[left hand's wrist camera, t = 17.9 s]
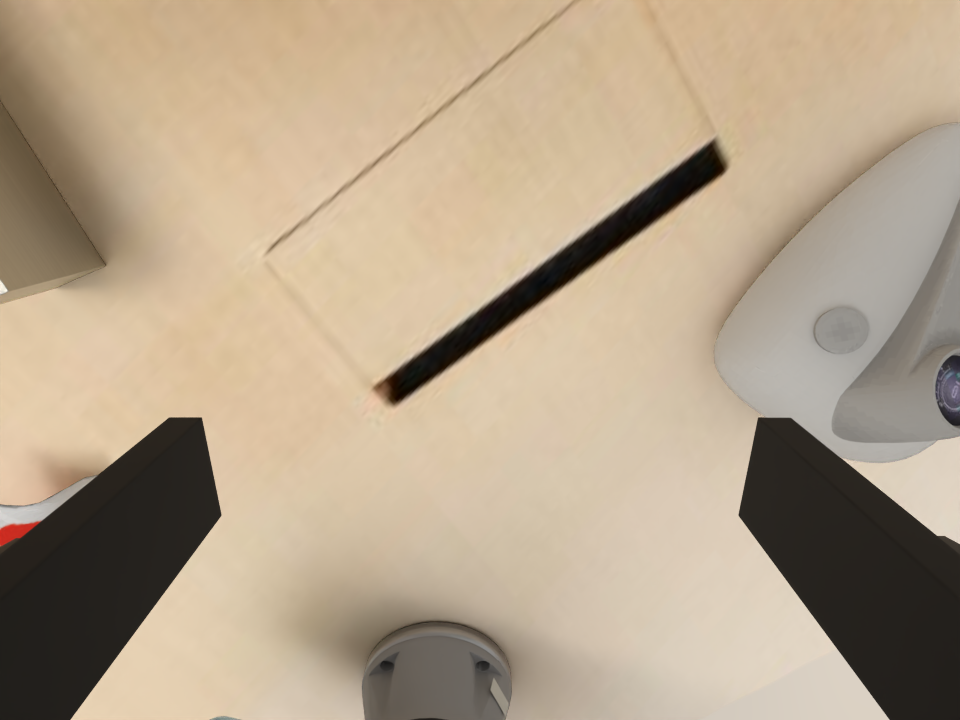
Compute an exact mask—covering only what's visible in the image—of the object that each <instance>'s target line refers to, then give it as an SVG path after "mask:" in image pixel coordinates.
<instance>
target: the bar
mask: <svg viewBox="0 0 960 720" xmlns="http://www.w3.org/2000/svg"><path fill="white" fill-rule="evenodd" d="M105 266H106V265H105V264H104V262H103V261H102V259H101V257H100V256H99V254H98V253H97V251H96V250H95V248H94V246H93V245H92V243H91V242H90V240H89V239H88V237H87V236H86V234H85V232H84V231H83V229H82V228H81V226H80V225H79V223H78V222H77V220H76V218H75V217H74V215H73V214H72V212H71V211H70V209H69V207H68V206H67V204H66V203H65V201H64V200H63V198H62V197H61V195H60V193H59V192H58V190H57V189H56V187H55V186H54V184H53V182H52V181H51V179H50V178H49V176H48V175H47V173H46V172H45V170H44V168H43V167H42V165H41V164H40V162H39V161H38V159H37V157H36V156H35V154H34V153H33V151H32V150H31V148H30V147H29V145H28V143H27V142H26V140H25V139H24V137H23V136H22V134H21V133H20V131H19V129H18V128H17V126H16V125H15V123H14V122H13V120H12V118H11V117H10V115H9V114H8V112H7V111H6V109H5V108H4V106H3V104H2V103H1V101H0V304H2V303H6V302H9V301H13V300H16V299H20V298H23V297H27V296H30V295H34V294H37V293H41V292H44V291H48V290H51V289H55V288H57V287H59V286H62V285H64V284H66V283H68V282H71V281H73V280H75V279H77V278H80V277H82V276H84V275H87V274H89V273H91V272H93V271H96V270H98V269H100V268H102V267H105Z"/></svg>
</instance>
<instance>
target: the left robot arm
mask: <svg viewBox="0 0 960 720" xmlns="http://www.w3.org/2000/svg"><path fill="white" fill-rule="evenodd" d="M220 517H221V510H220V505H219V500H218V496H217V491H216V486H215V481H214V476H213V471H212V466H211V461H210V456H209V451H208V446H207V441H206V436H205V431H204V426H203V421H202V418H168V419H167V420H166V421H164V422H163V423H162V424H161V425H159V426H158V427H157V428H156V429H155V430H153V431H152V432H151V433H150V434H148V435H147V436H146V437H145V438H143V439H142V440H141V441H140V442H138V443H137V444H136V445H135V446H134V447H132V448H131V449H130V450H129V451H127V452H126V453H125V454H124V455H122V456H121V457H120V458H119V459H117V460H116V461H115V462H114V463H113V464H111V465H110V466H109V467H108V468H106V469H105V470H104V471H103V472H101V473H100V474H99V475H98V476H96V477H95V478H94V479H93V480H91V481H90V482H89V483H88V484H87V485H85V486H84V487H83V488H82V489H80V490H79V491H78V492H77V493H75V494H74V495H73V496H72V497H70V498H69V499H68V500H67V501H66V502H64V503H63V504H62V505H61V506H59V507H58V508H57V509H56V510H54V511H53V512H52V513H51V514H49V515H48V516H47V517H46V518H45V519H43V520H42V521H41V522H40V523H38V524H37V525H36V526H35V527H33V528H32V529H31V530H30V531H28V532H27V533H26V534H25V535H24V536H22V537H21V538H15V539H13V540H12V541H10V542H8V543H6V544H4V545H2V546H0V720H70V719H71V718H72V717H73V715H74V714H75V713H76V711H77V710H78V709H79V707H80V706H81V705H82V703H83V702H84V700H85V699H86V698H87V696H88V695H89V694H90V692H91V691H92V690H93V688H94V687H95V686H96V684H97V683H98V682H99V680H100V679H101V678H102V676H103V675H104V673H105V672H106V671H107V669H108V668H109V667H110V665H111V664H112V663H113V661H114V660H115V659H116V657H117V656H118V655H119V653H120V652H121V651H122V649H123V648H124V646H125V645H126V644H127V642H128V641H129V640H130V638H131V637H132V636H133V634H134V633H135V632H136V630H137V629H138V628H139V626H140V625H141V623H142V622H143V621H144V619H145V618H146V617H147V615H148V614H149V613H150V611H151V610H152V609H153V607H154V606H155V605H156V603H157V602H158V601H159V599H160V598H161V596H162V595H163V594H164V592H165V591H166V590H167V588H168V587H169V586H170V584H171V583H172V582H173V580H174V579H175V578H176V576H177V575H178V574H179V572H180V571H181V569H182V568H183V567H184V565H185V564H186V563H187V561H188V560H189V559H190V557H191V556H192V555H193V553H194V552H195V551H196V549H197V548H198V546H199V545H200V544H201V542H202V541H203V540H204V538H205V537H206V536H207V534H208V533H209V532H210V530H211V529H212V528H213V526H214V525H215V524H216V522H217V521H218V519H219V518H220ZM739 517H740V518H741V519H742V521H743V522H744V524H745V525H746V526H747V528H748V529H749V530H750V532H751V533H752V534H753V536H754V537H755V538H756V540H757V541H758V542H759V544H760V545H761V546H762V548H763V549H764V551H765V552H766V553H767V555H768V556H769V557H770V559H771V560H772V561H773V563H774V564H775V565H776V567H777V568H778V569H779V571H780V572H781V574H782V575H783V576H784V578H785V579H786V580H787V582H788V583H789V584H790V586H791V587H792V588H793V590H794V591H795V592H796V594H797V595H798V596H799V598H800V599H801V601H802V602H803V603H804V605H805V606H806V607H807V609H808V610H809V611H810V613H811V614H812V615H813V617H814V618H815V619H816V621H817V622H818V623H819V625H820V626H821V628H822V629H823V630H824V632H825V633H826V634H827V636H828V637H829V638H830V640H831V641H832V642H833V644H834V645H835V646H836V648H837V649H838V651H839V652H840V653H841V655H842V656H843V657H844V659H845V660H846V661H847V663H848V664H849V665H850V667H851V668H852V669H853V671H854V672H855V673H856V675H857V676H858V678H859V679H860V680H861V682H862V683H863V684H864V686H865V687H866V688H867V690H868V691H869V692H870V694H871V695H872V696H873V698H874V699H875V700H876V702H877V703H878V705H879V706H880V707H881V709H882V710H883V711H884V713H885V714H886V715H887V717H888V718H889V719H890V720H960V544H958V543H956V542H955V541H953V540H951V539H949V538H947V537H945V536H936V535H935V534H934V533H933V532H932V531H930V530H929V529H928V528H927V527H925V526H924V525H923V524H922V523H920V522H919V521H918V520H917V519H915V518H914V517H913V516H912V515H911V514H909V513H908V512H907V511H906V510H904V509H903V508H902V507H901V506H899V505H898V504H897V503H896V502H894V501H893V500H892V499H891V498H890V497H888V496H887V495H886V494H885V493H883V492H882V491H881V490H880V489H878V488H877V487H876V486H875V485H873V484H872V483H871V482H870V481H869V480H867V479H866V478H865V477H864V476H862V475H861V474H860V473H859V472H857V471H856V470H855V469H854V468H852V467H851V466H850V465H849V464H847V463H846V462H845V461H844V460H843V459H841V458H840V457H839V456H838V455H836V454H835V453H834V452H833V451H831V450H830V449H829V448H828V447H826V446H825V445H824V444H823V443H822V442H820V441H819V440H818V439H817V438H815V437H814V436H813V435H812V434H810V433H809V432H808V431H807V430H805V429H804V428H803V427H802V426H801V425H799V424H798V423H797V422H796V421H794V420H793V419H792V418H758V421H757V426H756V431H755V436H754V441H753V446H752V451H751V456H750V461H749V466H748V471H747V476H746V481H745V486H744V491H743V496H742V500H741V505H740V510H739ZM511 693H512V691H511V673H510V667H509V664H508V661H507V659H506V657H505V655H504V654H503V652H502V651H501V650H500V648H499V647H498V646H497V645H496V644H495V643H494V642H493V641H491V640H490V639H489V638H488V637H486V636H485V635H483V634H481V633H479V632H477V631H475V630H473V629H471V628H468V627H465V626H461V625H457V624H452V623H444V622H428V623H420V624H415V625H411V626H407V627H405V628H402V629H399V630H397V631H395V632H393V633H392V634H390V635H388V636H387V637H386V638H384V639H383V640H382V641H381V642H380V643H379V644H378V645H377V646H376V647H375V648H374V650H373V651H372V652H371V654H370V656H369V658H368V661H367V664H366V669H365V673H364V677H363V682H362V697H363V706H364V715H365V720H505V719H506V716H507V712H508V709H509V705H510V700H511ZM210 720H240V719H235V718H231V717H225V716H221V717H216V718H213V719H210Z"/></svg>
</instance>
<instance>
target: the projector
mask: <svg viewBox="0 0 960 720" xmlns="http://www.w3.org/2000/svg"><path fill="white" fill-rule="evenodd" d="M714 362H715V366H716V368H717V371H718V373H719V375H720V376H721V378H722V379H723V381H724V382H725V383H726V384H727V386H728V387H729V388H730V389H731V390H732V391H733V392H734V393H735V394H736V395H737V396H738V397H739V398H740V399H741V400H743V401H744V402H745V403H746V404H747V405H749V406H750V407H751V408H753V409H754V410H755V411H757V412H758V413H760V414H761V415H763V416H764V417H766V418H792V419H793V420H794V421H796V422H797V423H798V424H799V425H801V426H802V427H803V428H804V429H805V430H807V431H808V432H809V433H810V434H812V435H813V436H814V437H815V438H817V439H818V440H819V441H820V442H822V443H823V444H824V445H825V446H826V447H828V448H829V449H830V450H831V451H833V452H834V453H835V454H836V455H838V456H839V457H842V458H845V459H849V460H853V461H860V462H869V463H886V462H895V461H899V460H903V459H906V458H909V457H911V456H913V455H916V454H918V453H920V452H921V451H923V450H925V449H926V448H928V447H929V446H931V445H933V444H934V443H935V442H936V441H937V440H942V439H950V438H954V437H959V436H960V123H948V124H943V125H939V126H936V127H933V128H930V129H928V130H926V131H924V132H922V133H920V134H918V135H916V136H915V137H913V138H912V139H910V140H908V141H907V142H905V143H904V144H902V145H901V146H899V147H898V148H897V149H895V150H894V151H892V152H891V153H889V154H888V155H887V156H885V157H884V158H883V159H881V160H880V161H879V162H878V163H876V164H875V165H874V166H872V167H871V168H870V169H868V170H867V171H866V172H864V173H863V174H862V175H861V176H860V177H858V178H857V179H856V180H855V181H854V182H852V183H851V184H850V185H849V186H848V187H846V188H845V189H844V190H843V191H842V192H841V193H839V194H838V195H837V196H836V197H835V198H834V199H833V200H832V201H830V202H829V203H828V204H827V205H826V206H825V207H824V208H823V209H822V210H821V211H820V212H819V213H818V214H816V215H815V216H814V217H813V218H812V219H811V220H810V221H809V222H808V223H807V224H806V225H805V226H804V227H803V228H802V229H801V230H800V231H799V232H798V233H797V234H796V235H795V236H794V237H793V239H792V240H791V241H790V242H789V243H788V244H787V245H786V246H785V247H784V248H783V249H782V250H781V252H780V253H779V254H778V255H777V256H776V257H775V258H774V259H773V260H772V262H771V263H770V264H769V265H768V266H767V267H766V269H765V270H764V271H763V272H762V273H761V274H760V276H759V277H758V278H757V279H756V280H755V282H754V283H753V284H752V285H751V287H750V288H749V289H748V290H747V292H746V293H745V294H744V296H743V297H742V298H741V300H740V301H739V302H738V304H737V305H736V306H735V308H734V309H733V311H732V312H731V314H730V315H729V317H728V318H727V320H726V321H725V323H724V325H723V327H722V329H721V330H720V332H719V335H718V337H717V340H716V343H715V347H714Z"/></svg>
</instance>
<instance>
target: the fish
mask: <svg viewBox="0 0 960 720" xmlns="http://www.w3.org/2000/svg"><path fill="white" fill-rule="evenodd" d="M96 476H98V475H95V476H91V477H86V478H84V479H82V480H80V481H78V482H76V483H74V484H73V485H71V486H69V487H68V488H66V489H64V490H62V491H60V492H59V493H57V494H55V495H53V496H51V497H49V498H47V499H46V500H44V501H42V502H40V503H36V504H31V505H25V506H12V505H1V504H0V546H2V545H4V544H6V543H8V542H10V541H12V540H13V539H15V538H21V537H22V536H24V535H25V534H26V533H27V532H28V531H30V530H31V529H32V528H33V527H35V526H36V525H37V524H38V523H40V522H41V521H42V520H43V519H45V518H46V517H47V516H48V515H49V514H51V513H52V512H53V511H54V510H56V509H57V508H58V507H59V506H61V505H62V504H63V503H64V502H66V501H67V500H68V499H69V498H70V497H72V496H73V495H74V494H75V493H77V492H78V491H79V490H80V489H82V488H83V487H84V486H85V485H87V484H88V483H89V482H90V481H91V480H93V479H94V478H95V477H96Z"/></svg>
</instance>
